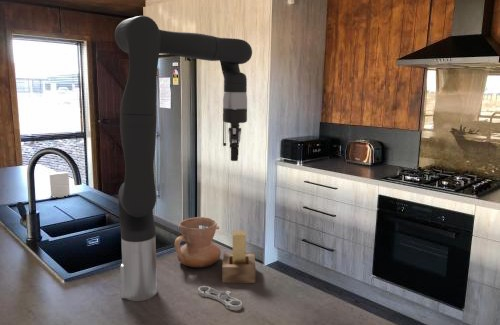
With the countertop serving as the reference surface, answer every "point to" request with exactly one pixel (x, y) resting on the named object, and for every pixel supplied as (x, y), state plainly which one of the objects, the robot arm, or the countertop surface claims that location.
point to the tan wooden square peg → (239, 247)
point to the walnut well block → (238, 270)
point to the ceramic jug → (197, 242)
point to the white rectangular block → (59, 184)
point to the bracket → (223, 297)
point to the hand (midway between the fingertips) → (234, 158)
